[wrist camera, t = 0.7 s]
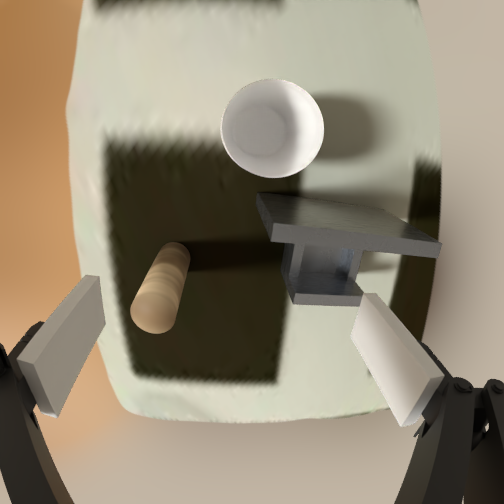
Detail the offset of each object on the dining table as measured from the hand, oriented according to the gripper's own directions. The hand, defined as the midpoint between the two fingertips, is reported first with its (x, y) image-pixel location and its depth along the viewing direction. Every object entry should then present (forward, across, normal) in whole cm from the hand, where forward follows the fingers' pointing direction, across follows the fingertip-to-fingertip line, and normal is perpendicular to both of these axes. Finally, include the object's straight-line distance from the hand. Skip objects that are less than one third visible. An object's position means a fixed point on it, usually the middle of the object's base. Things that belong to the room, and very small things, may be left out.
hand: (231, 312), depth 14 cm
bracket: (+26, +12, -4) cm, 29 cm away
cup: (+26, +3, +10) cm, 27 cm away
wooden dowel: (+26, -7, -8) cm, 28 cm away
